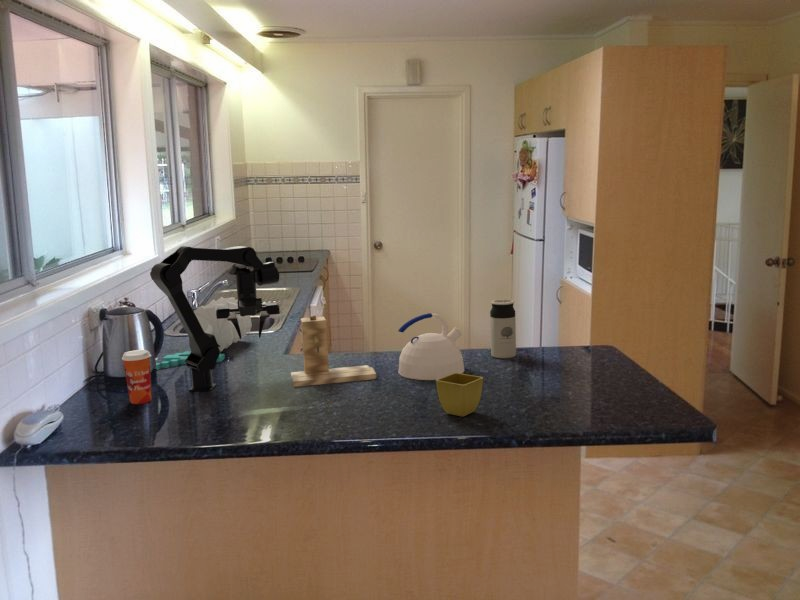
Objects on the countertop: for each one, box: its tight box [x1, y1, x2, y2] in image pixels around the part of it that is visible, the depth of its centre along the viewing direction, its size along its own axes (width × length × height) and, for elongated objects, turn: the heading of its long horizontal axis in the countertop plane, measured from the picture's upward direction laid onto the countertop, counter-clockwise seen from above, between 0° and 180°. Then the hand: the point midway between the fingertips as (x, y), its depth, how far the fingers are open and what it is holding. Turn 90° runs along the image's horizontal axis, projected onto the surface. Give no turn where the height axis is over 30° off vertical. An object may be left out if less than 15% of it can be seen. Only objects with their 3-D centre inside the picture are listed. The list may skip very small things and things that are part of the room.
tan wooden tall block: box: [300, 314, 330, 374], centre depth 217 cm, size 7×16×18 cm, turn 12°
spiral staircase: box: [193, 296, 253, 353], centre depth 269 cm, size 18×18×25 cm
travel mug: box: [489, 298, 517, 359], centre depth 238 cm, size 8×8×18 cm
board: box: [290, 364, 377, 388], centre depth 221 cm, size 24×16×2 cm, turn 102°
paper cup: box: [121, 349, 152, 405], centre depth 206 cm, size 8×8×14 cm
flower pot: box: [435, 373, 484, 417], centre depth 185 cm, size 9×9×9 cm
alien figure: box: [155, 350, 226, 371], centre depth 250 cm, size 20×2×20 cm
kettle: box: [397, 312, 465, 381], centre depth 224 cm, size 20×21×18 cm
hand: (250, 338), depth 226 cm, fingers open, 5 cm apart
